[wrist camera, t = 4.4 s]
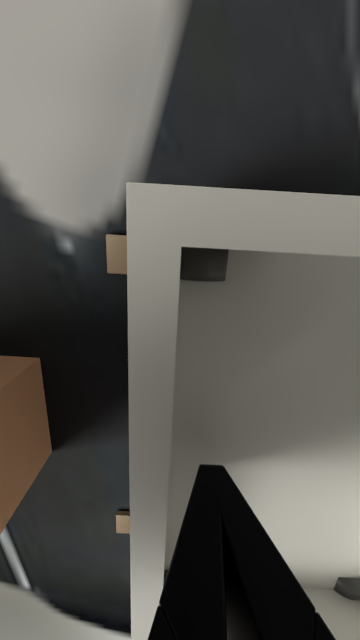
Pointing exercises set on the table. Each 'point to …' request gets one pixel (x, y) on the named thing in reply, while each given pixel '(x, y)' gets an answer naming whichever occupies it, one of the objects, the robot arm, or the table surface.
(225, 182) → the table surface
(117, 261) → the track
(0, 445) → the part block
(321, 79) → the table surface
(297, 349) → the white open storage bin
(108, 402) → the table surface
